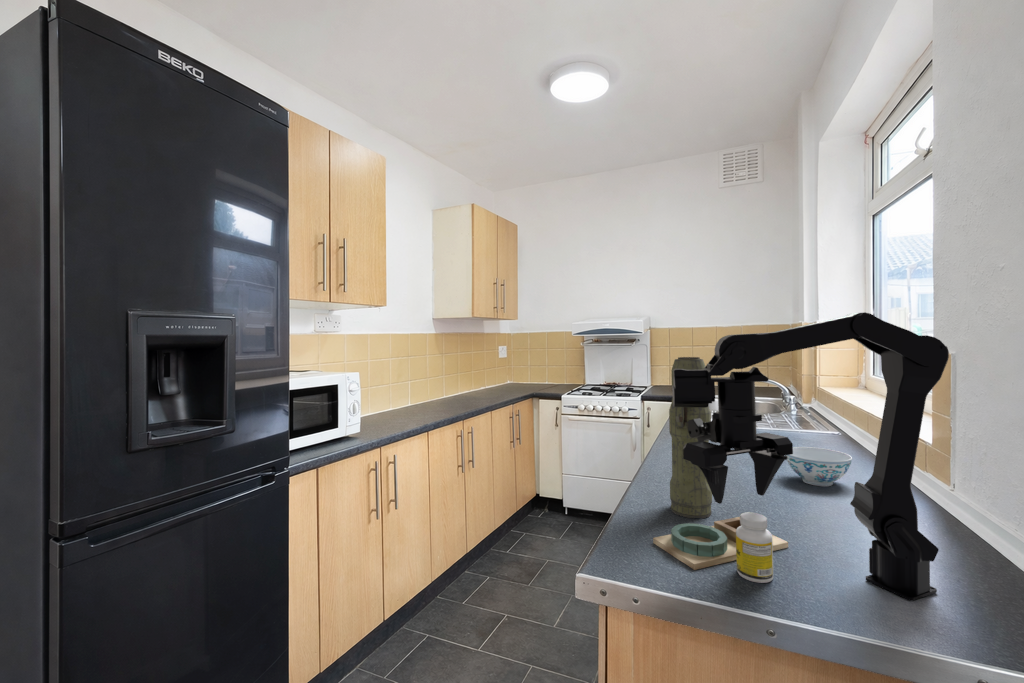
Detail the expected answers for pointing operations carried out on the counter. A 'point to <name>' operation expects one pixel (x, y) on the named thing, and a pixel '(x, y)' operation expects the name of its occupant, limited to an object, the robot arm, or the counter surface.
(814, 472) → the chinaware
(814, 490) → the counter surface
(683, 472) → the thermos
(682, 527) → the socket board
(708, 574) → the counter surface
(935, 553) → the robot arm
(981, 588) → the counter surface
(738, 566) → the supplement bottle
